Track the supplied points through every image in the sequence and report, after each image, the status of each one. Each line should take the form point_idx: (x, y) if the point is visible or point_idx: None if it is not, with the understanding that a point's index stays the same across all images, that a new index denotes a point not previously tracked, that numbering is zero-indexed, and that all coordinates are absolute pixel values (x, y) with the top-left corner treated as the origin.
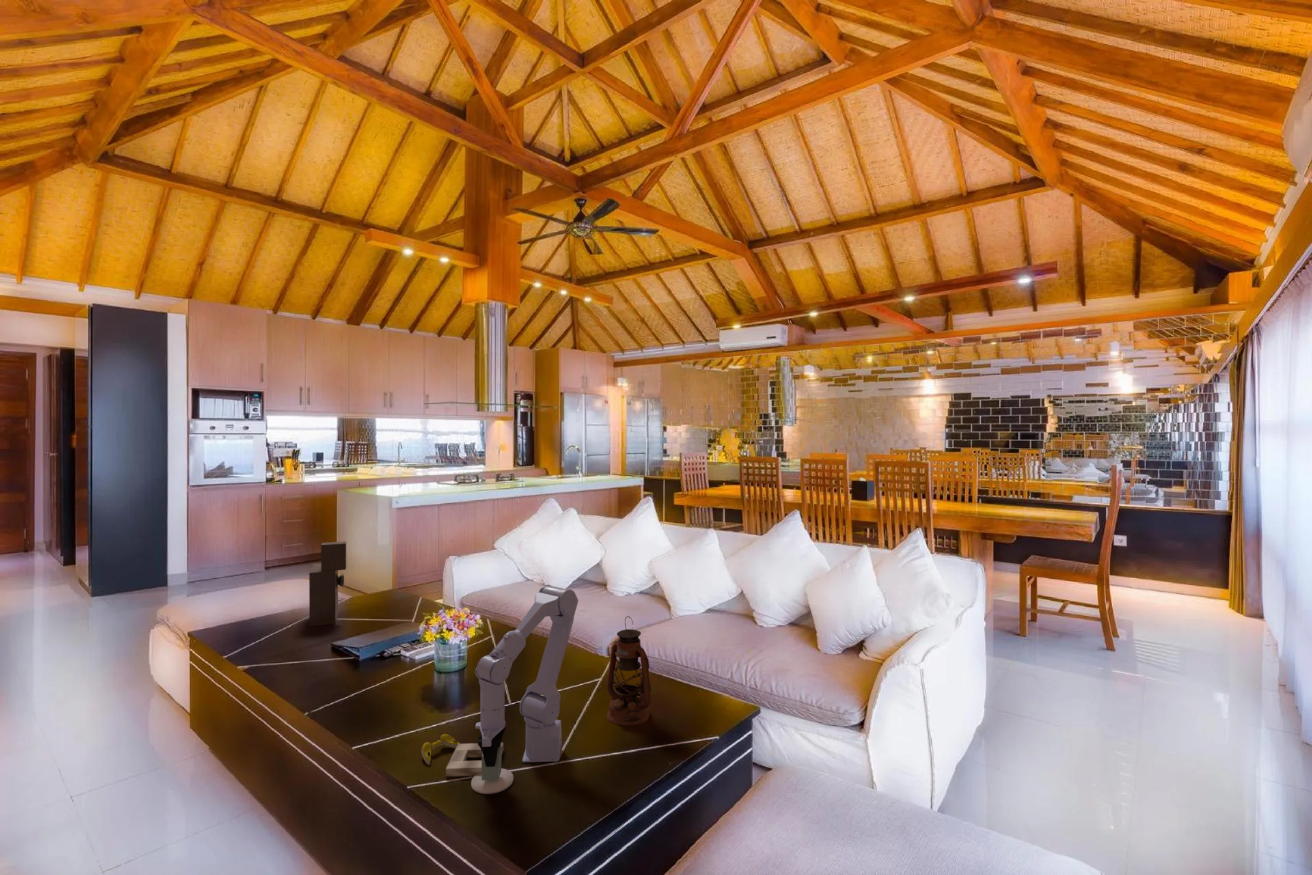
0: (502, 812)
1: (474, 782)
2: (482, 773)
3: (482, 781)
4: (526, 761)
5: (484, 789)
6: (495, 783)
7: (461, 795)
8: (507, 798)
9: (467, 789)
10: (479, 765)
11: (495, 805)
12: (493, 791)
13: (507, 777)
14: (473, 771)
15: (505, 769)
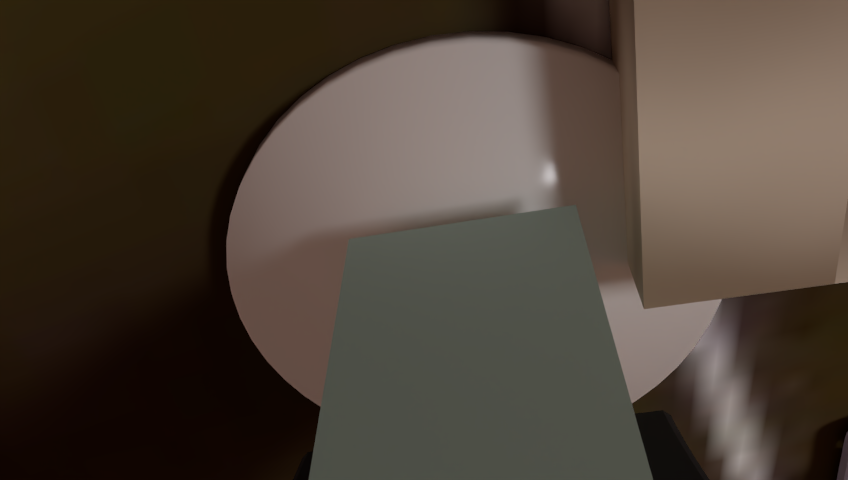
0: (37, 470)
1: (378, 108)
2: (342, 307)
3: (420, 193)
4: (843, 459)
5: (265, 269)
6: None
7: (115, 22)
8: (230, 453)
9: (263, 45)
10: (700, 99)
11: (99, 404)
12: (265, 351)
13: None
14: (621, 7)
15: (692, 341)
